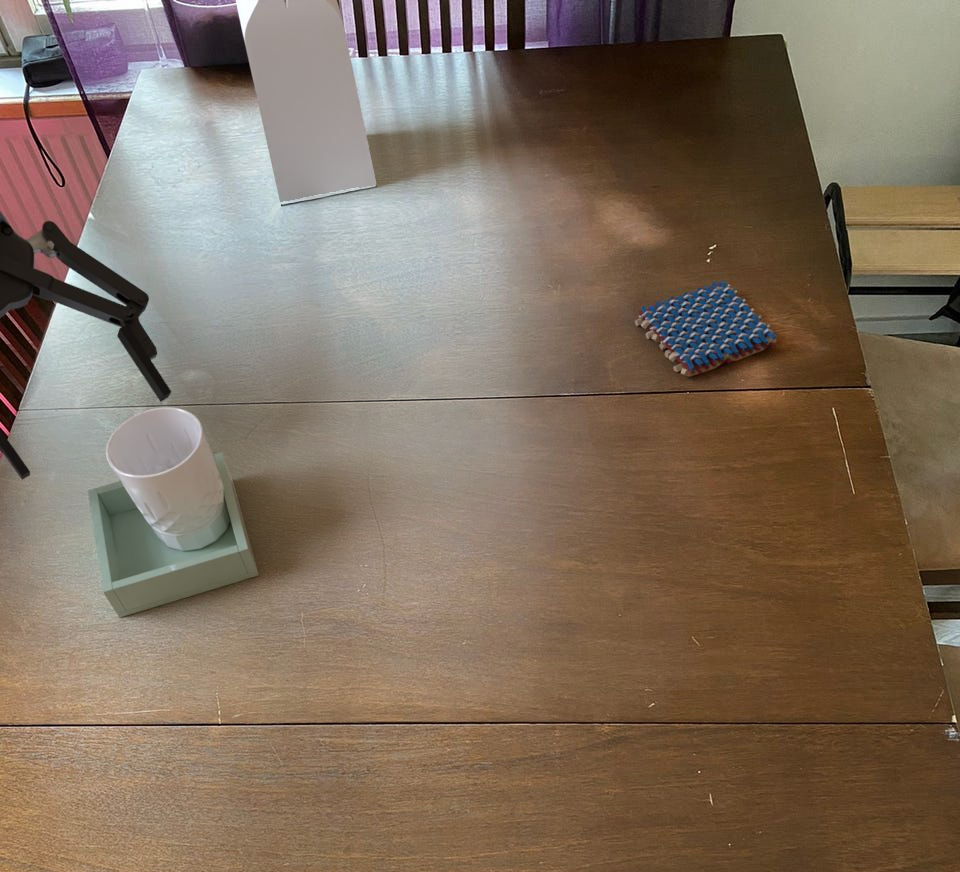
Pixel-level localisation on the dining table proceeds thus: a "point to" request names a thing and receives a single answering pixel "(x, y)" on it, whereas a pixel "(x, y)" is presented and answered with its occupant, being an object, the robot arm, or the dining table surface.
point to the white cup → (171, 476)
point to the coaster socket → (163, 552)
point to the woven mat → (706, 329)
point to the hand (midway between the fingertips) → (98, 435)
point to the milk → (306, 96)
